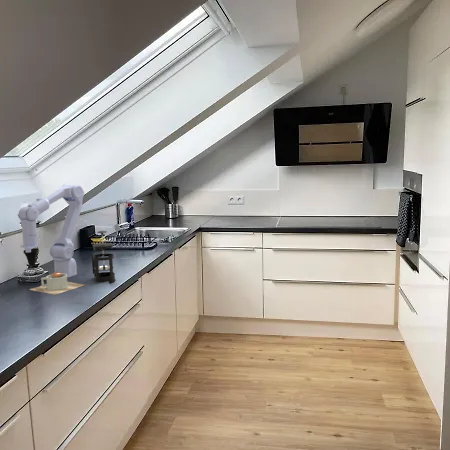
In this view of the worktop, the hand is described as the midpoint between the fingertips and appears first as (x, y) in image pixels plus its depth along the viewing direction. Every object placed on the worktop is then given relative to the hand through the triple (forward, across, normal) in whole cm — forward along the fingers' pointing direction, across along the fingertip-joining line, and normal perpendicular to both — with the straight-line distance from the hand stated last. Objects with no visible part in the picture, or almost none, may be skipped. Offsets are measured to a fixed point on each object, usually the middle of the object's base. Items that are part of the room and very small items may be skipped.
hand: (32, 265), depth 204 cm
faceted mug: (+8, +8, +11) cm, 16 cm away
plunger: (+8, +8, +11) cm, 15 cm away
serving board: (+9, +8, +11) cm, 16 cm away
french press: (+10, 0, +30) cm, 31 cm away
